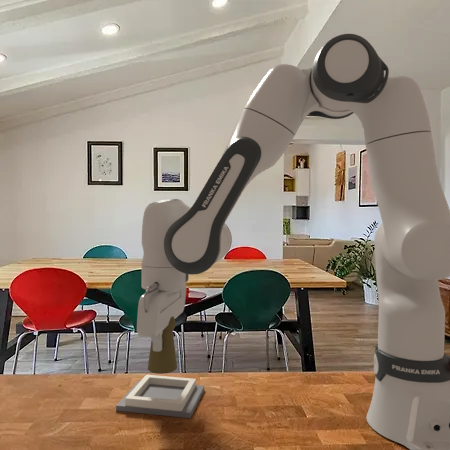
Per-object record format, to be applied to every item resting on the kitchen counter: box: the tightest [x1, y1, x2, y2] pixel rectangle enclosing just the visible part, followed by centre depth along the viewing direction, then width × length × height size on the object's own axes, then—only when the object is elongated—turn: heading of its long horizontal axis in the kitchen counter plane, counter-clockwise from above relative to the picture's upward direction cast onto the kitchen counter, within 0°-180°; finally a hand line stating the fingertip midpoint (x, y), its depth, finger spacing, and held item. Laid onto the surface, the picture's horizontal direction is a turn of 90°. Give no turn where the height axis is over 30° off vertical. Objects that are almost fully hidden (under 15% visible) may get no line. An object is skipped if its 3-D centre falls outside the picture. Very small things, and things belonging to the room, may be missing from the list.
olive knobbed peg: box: [147, 316, 178, 375], centre depth 83 cm, size 6×6×11 cm
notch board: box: [115, 374, 205, 419], centre depth 83 cm, size 15×12×2 cm
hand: (162, 345), depth 83 cm, fingers closed on olive knobbed peg, 4 cm apart
